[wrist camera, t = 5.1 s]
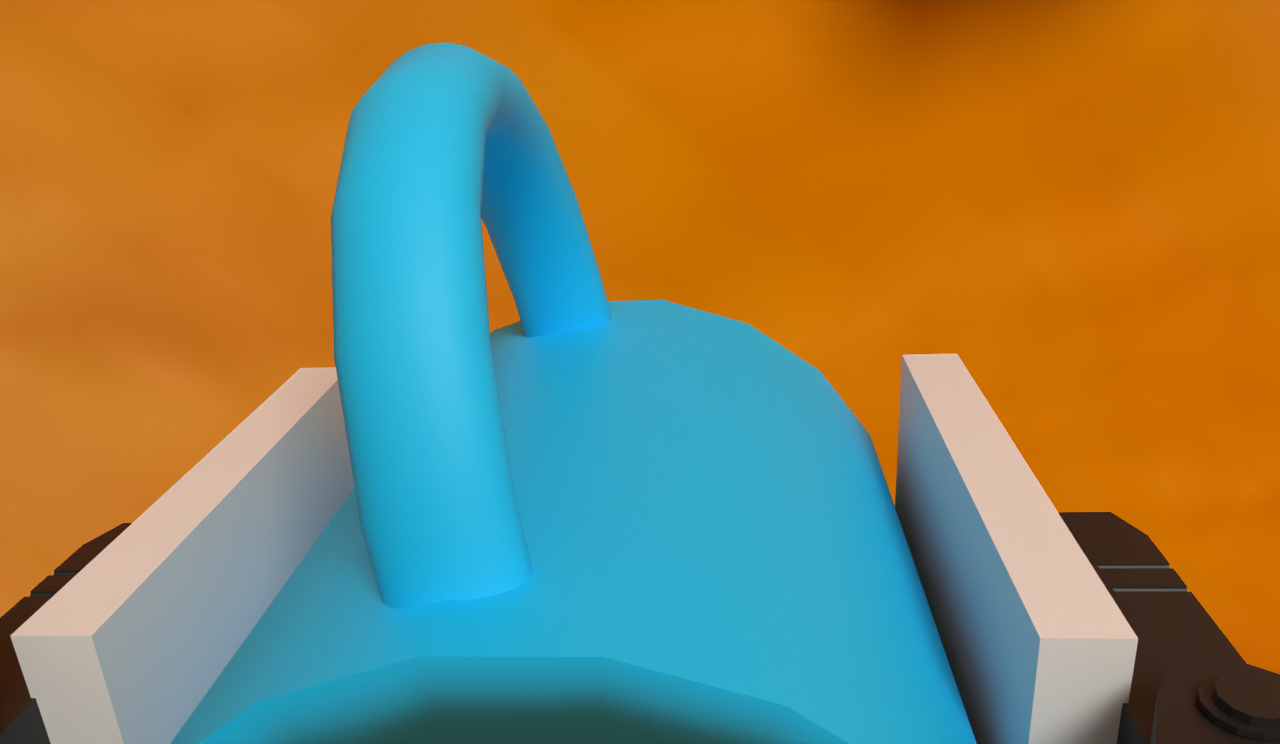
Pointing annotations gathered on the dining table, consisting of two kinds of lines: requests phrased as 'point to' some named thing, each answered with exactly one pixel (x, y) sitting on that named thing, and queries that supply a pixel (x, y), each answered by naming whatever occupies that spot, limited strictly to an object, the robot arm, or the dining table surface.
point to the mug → (569, 487)
